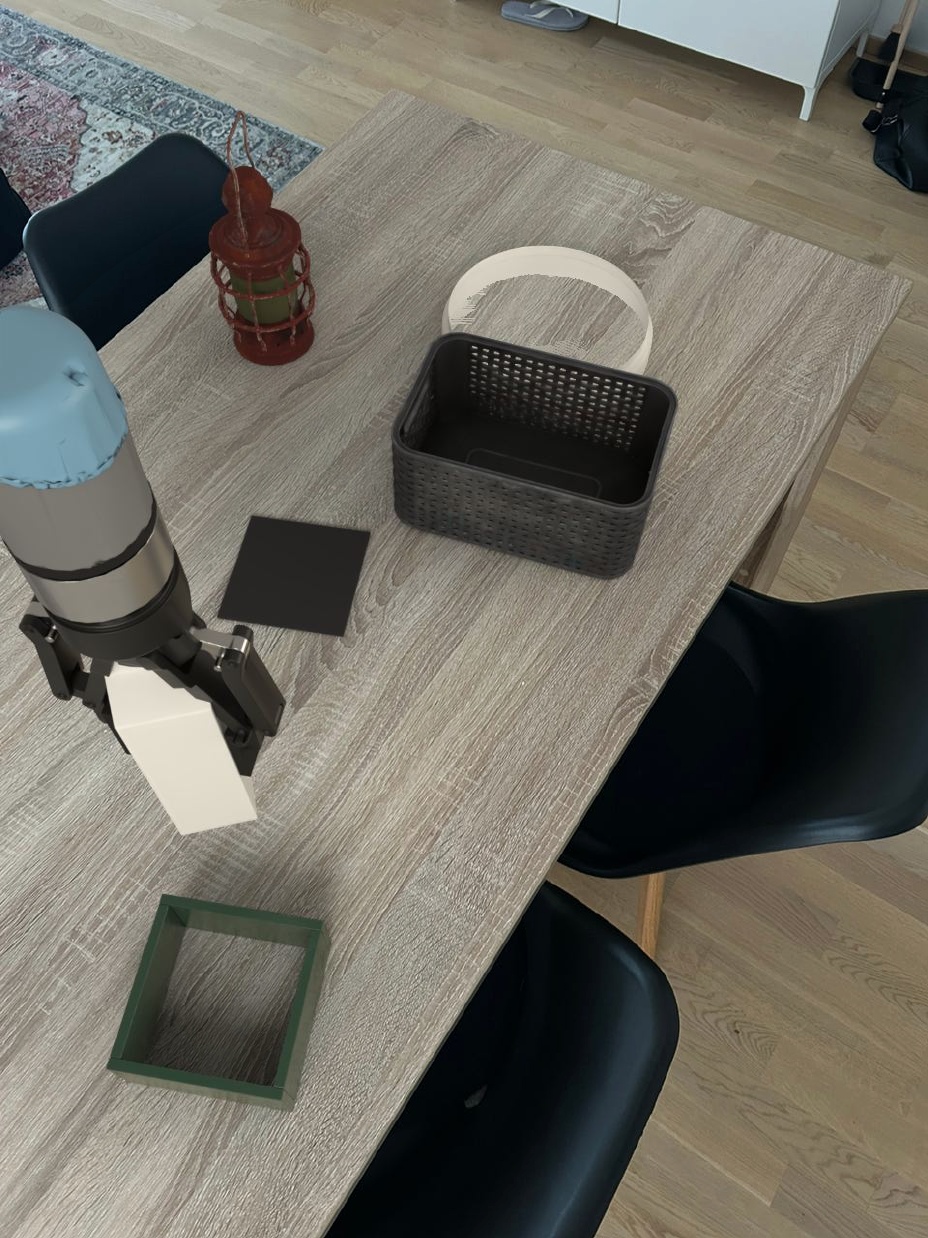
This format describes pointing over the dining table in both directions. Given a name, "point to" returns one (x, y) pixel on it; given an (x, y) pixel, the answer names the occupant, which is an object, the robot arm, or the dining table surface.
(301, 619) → the mat
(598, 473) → the storage bin
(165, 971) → the holder
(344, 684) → the dining table surface
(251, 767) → the robot arm
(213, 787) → the milk
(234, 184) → the lantern
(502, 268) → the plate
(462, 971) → the dining table surface
